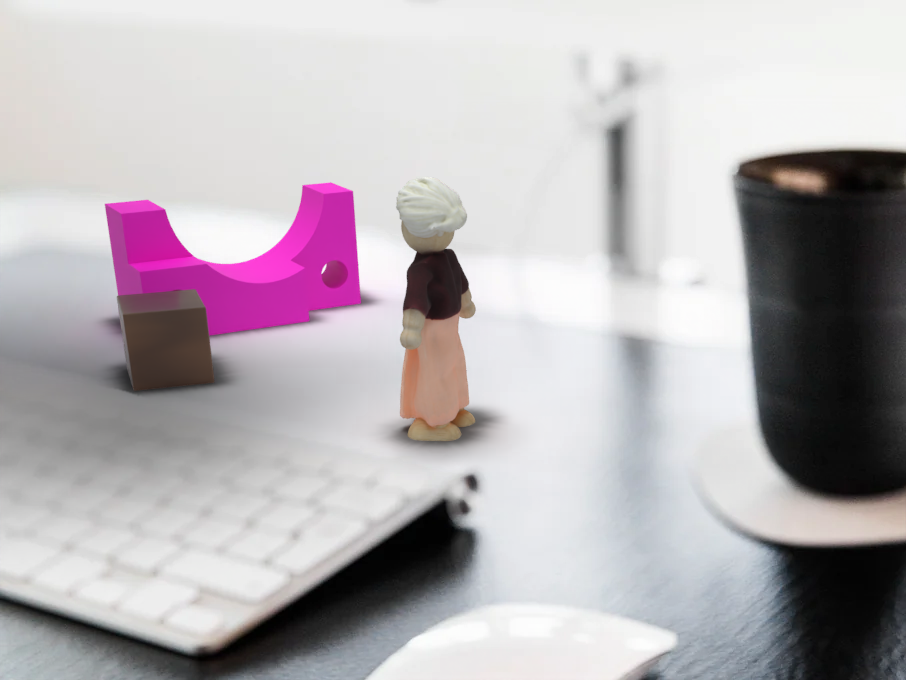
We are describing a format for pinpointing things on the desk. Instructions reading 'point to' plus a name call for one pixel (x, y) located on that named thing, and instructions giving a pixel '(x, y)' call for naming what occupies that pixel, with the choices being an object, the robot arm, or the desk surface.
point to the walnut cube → (165, 339)
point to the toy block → (245, 263)
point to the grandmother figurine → (433, 313)
